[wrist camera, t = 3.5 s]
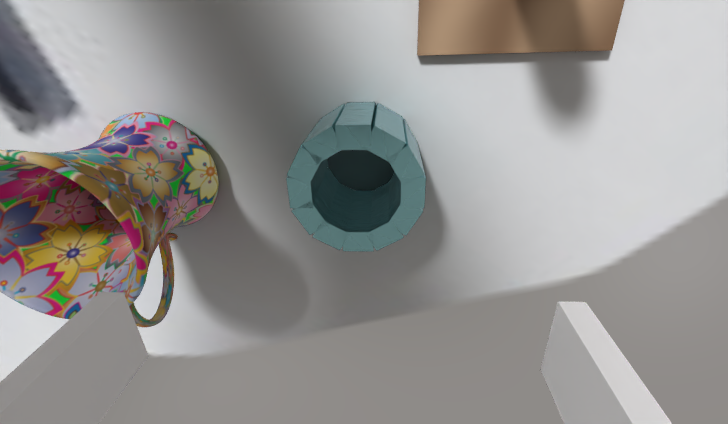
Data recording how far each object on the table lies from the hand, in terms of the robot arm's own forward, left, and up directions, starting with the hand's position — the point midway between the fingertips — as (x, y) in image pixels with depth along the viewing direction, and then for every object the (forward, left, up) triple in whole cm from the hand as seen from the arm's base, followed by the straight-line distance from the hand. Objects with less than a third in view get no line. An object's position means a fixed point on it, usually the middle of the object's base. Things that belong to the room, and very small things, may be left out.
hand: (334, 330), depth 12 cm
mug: (-14, -2, -16) cm, 22 cm away
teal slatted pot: (0, 0, -16) cm, 16 cm away
